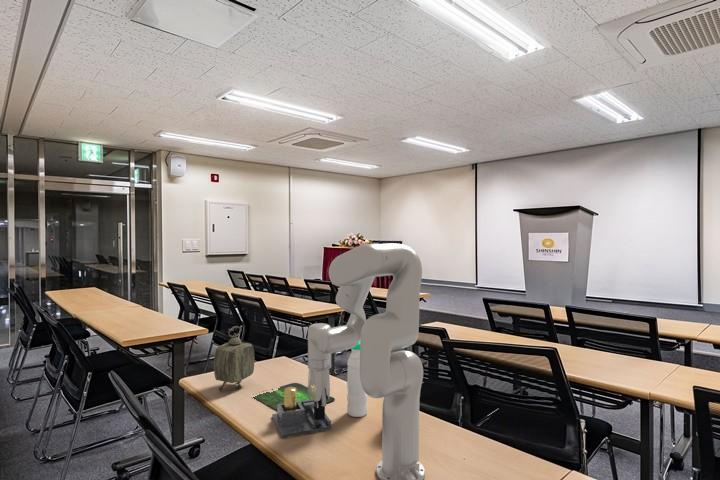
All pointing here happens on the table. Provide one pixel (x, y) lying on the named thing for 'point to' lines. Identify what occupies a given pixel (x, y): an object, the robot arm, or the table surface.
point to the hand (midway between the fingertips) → (319, 418)
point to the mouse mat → (278, 396)
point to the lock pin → (312, 413)
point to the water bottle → (355, 386)
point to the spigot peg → (289, 399)
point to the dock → (299, 420)
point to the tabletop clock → (233, 361)
